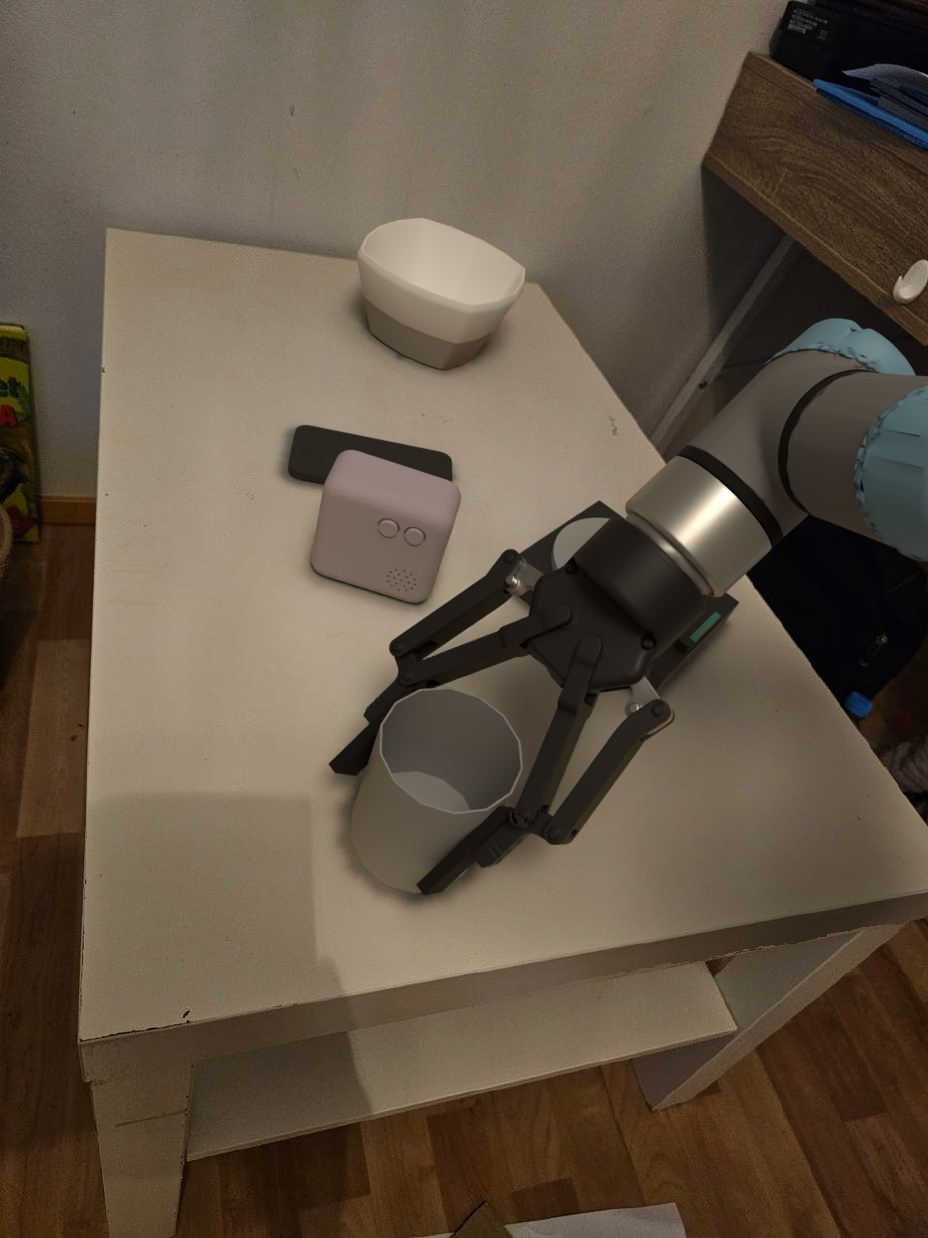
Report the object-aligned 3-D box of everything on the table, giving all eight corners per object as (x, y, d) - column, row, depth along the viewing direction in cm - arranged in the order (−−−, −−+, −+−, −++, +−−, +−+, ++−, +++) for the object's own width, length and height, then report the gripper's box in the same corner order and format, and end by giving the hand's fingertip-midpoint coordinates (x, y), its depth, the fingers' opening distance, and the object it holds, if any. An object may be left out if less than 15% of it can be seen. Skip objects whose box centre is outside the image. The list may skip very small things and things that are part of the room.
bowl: (319, 328, 92) (331, 245, 85) (399, 281, 104) (415, 205, 97) (457, 401, 89) (481, 322, 82) (523, 344, 101) (548, 270, 95)
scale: (723, 623, 76) (745, 593, 73) (648, 701, 67) (670, 670, 64) (587, 522, 81) (603, 491, 78) (501, 582, 72) (515, 549, 69)
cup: (478, 898, 52) (528, 821, 45) (347, 889, 50) (377, 807, 43) (472, 780, 58) (515, 695, 51) (354, 768, 56) (381, 678, 49)
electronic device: (304, 577, 66) (321, 480, 59) (320, 540, 70) (338, 444, 63) (424, 615, 67) (454, 523, 60) (435, 576, 70) (465, 485, 63)
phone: (297, 421, 78) (452, 453, 81) (296, 429, 79) (450, 459, 82) (286, 470, 73) (452, 501, 76) (285, 477, 74) (450, 508, 77)
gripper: (807, 700, 46) (515, 968, 48) (558, 470, 55) (319, 707, 57) (812, 678, 40) (472, 991, 42) (526, 419, 48) (257, 690, 50)
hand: (384, 827), depth 49 cm, fingers closed on cup, 8 cm apart
